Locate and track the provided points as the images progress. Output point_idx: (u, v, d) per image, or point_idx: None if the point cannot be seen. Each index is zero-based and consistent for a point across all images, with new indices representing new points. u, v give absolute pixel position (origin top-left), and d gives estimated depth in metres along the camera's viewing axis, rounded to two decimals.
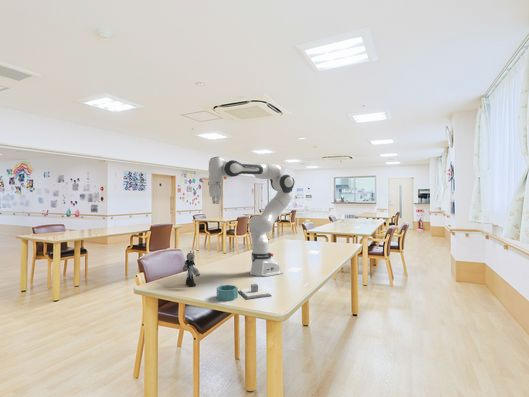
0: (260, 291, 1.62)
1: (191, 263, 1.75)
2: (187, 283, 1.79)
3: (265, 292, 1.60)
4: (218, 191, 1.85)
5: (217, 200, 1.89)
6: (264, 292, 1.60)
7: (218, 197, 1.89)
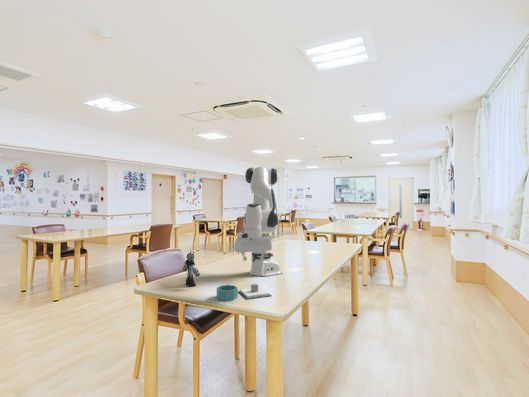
0: (260, 291, 1.62)
1: (191, 263, 1.75)
2: (187, 283, 1.79)
3: (265, 292, 1.60)
4: None
5: None
6: (264, 292, 1.60)
7: None
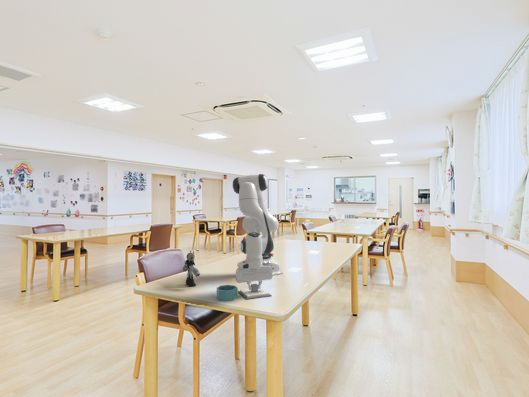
0: (260, 291, 1.62)
1: (191, 263, 1.75)
2: (187, 283, 1.79)
3: (265, 292, 1.60)
4: None
5: None
6: (264, 292, 1.60)
7: None
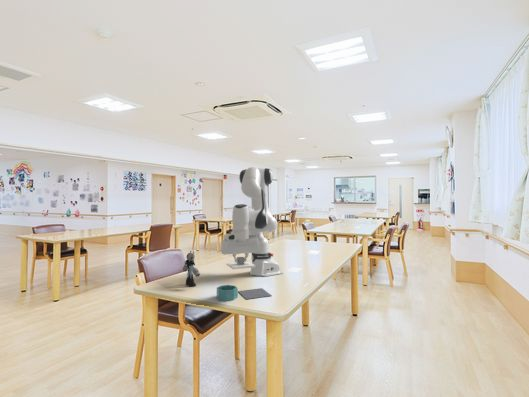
0: (246, 264, 1.58)
1: (191, 263, 1.75)
2: (187, 283, 1.79)
3: (251, 264, 1.57)
4: None
5: None
6: (250, 264, 1.57)
7: None
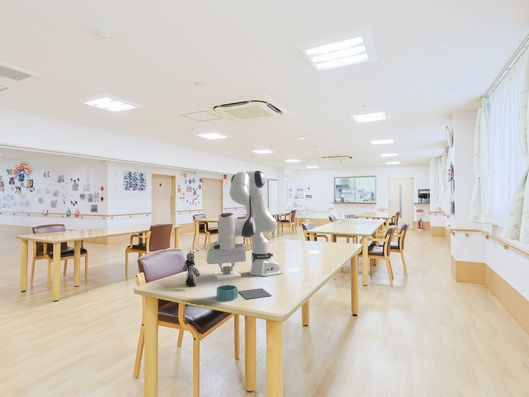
0: (232, 273, 1.56)
1: (191, 263, 1.75)
2: (187, 283, 1.79)
3: (237, 274, 1.54)
4: None
5: None
6: (236, 274, 1.54)
7: None
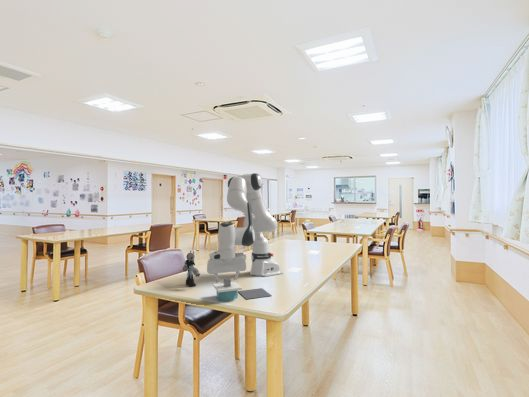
0: (233, 286, 1.56)
1: (191, 263, 1.75)
2: (187, 283, 1.79)
3: (238, 287, 1.54)
4: None
5: None
6: (237, 287, 1.54)
7: None
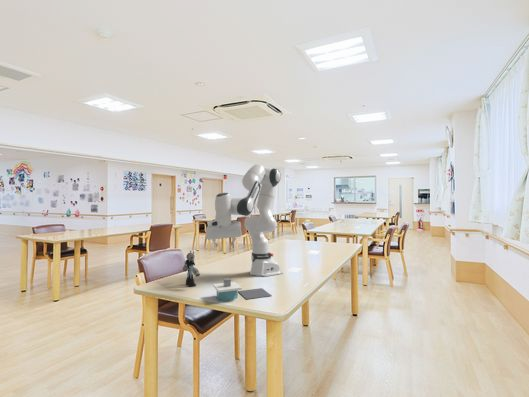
0: (233, 286, 1.56)
1: (191, 263, 1.75)
2: (187, 283, 1.79)
3: (238, 287, 1.54)
4: None
5: None
6: (237, 287, 1.54)
7: None
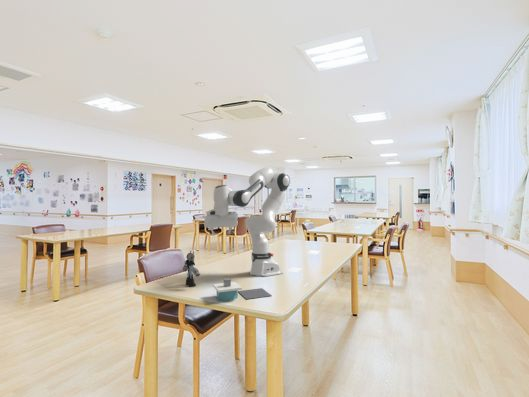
0: (233, 286, 1.56)
1: (191, 263, 1.75)
2: (187, 283, 1.79)
3: (238, 287, 1.54)
4: None
5: None
6: (237, 287, 1.54)
7: None
